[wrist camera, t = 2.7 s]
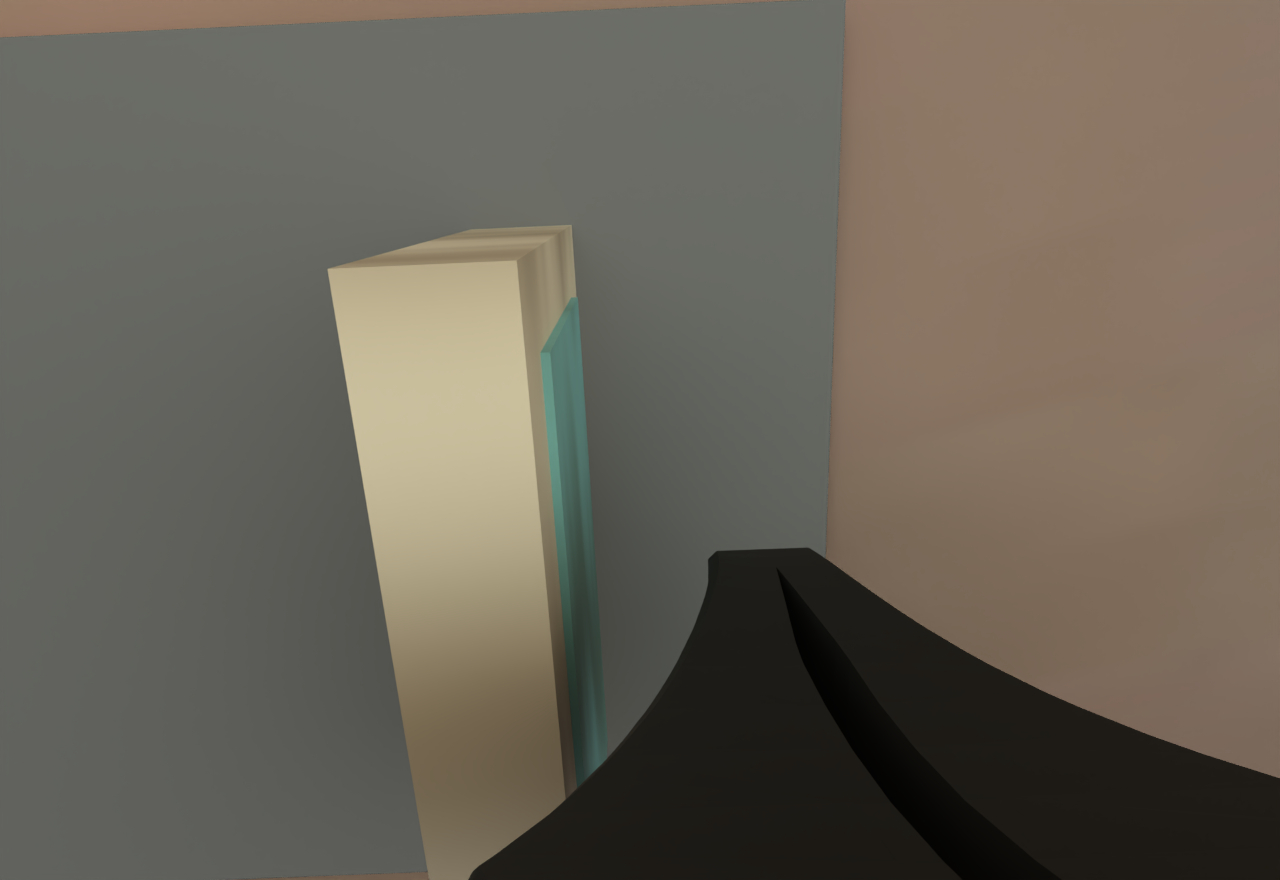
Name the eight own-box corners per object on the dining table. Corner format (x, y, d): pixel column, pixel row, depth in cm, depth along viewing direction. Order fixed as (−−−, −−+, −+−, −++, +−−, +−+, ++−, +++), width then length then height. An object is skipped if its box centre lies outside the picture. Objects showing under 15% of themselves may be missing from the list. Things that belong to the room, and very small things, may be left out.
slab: (612, 746, 15) (598, 1079, 10) (526, 750, 15) (462, 1084, 10) (577, 224, 12) (528, 259, 7) (470, 229, 12) (327, 268, 7)
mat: (808, 834, 17) (814, 856, 16) (-14, 866, 17) (-36, 889, 16) (835, 6, 12) (845, -2, 11) (-332, 61, 12) (-381, 55, 11)
